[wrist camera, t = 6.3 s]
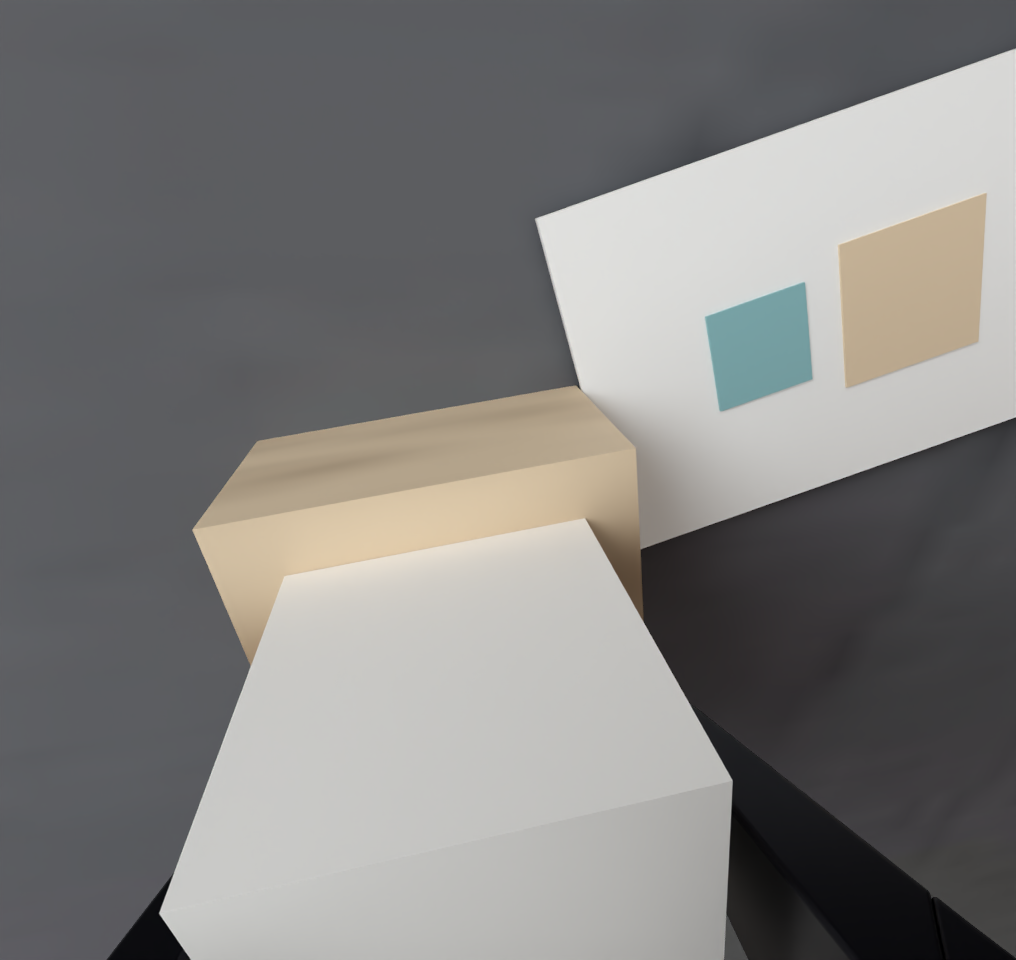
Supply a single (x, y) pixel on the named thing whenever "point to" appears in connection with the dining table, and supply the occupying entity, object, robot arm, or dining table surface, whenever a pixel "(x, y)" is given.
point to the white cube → (459, 772)
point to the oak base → (419, 493)
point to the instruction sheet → (801, 299)
